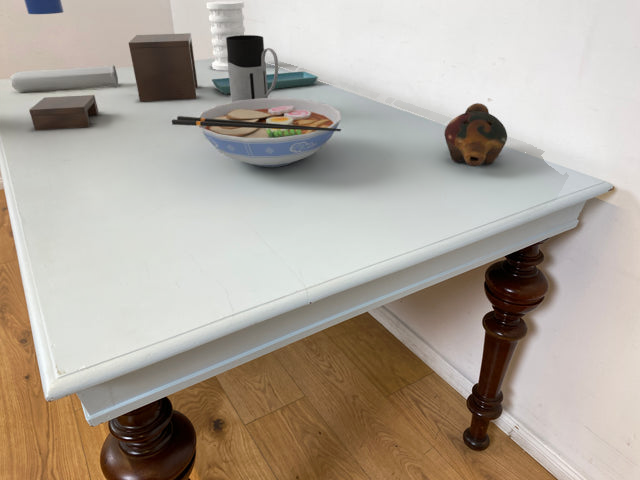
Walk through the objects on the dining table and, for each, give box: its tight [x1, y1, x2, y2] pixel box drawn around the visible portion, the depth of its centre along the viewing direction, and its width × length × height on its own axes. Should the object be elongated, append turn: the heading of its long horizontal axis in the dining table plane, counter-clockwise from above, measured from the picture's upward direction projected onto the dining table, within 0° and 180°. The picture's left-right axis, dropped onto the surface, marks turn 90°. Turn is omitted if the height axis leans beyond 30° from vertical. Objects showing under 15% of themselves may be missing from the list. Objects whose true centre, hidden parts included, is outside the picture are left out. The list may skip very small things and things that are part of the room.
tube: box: [10, 64, 119, 93], centre depth 124 cm, size 5×5×25 cm
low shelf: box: [29, 94, 100, 131], centre depth 98 cm, size 10×10×4 cm
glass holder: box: [226, 34, 279, 102], centre depth 99 cm, size 9×14×15 cm, turn 44°
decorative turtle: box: [444, 102, 508, 167], centre depth 77 cm, size 10×15×8 cm, turn 170°
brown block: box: [128, 32, 199, 103], centre depth 116 cm, size 13×13×13 cm
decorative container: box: [205, 0, 246, 72], centre depth 144 cm, size 12×12×18 cm
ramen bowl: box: [171, 97, 342, 168], centre depth 77 cm, size 25×23×8 cm
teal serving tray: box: [211, 70, 319, 95], centre depth 124 cm, size 26×9×2 cm, turn 116°
